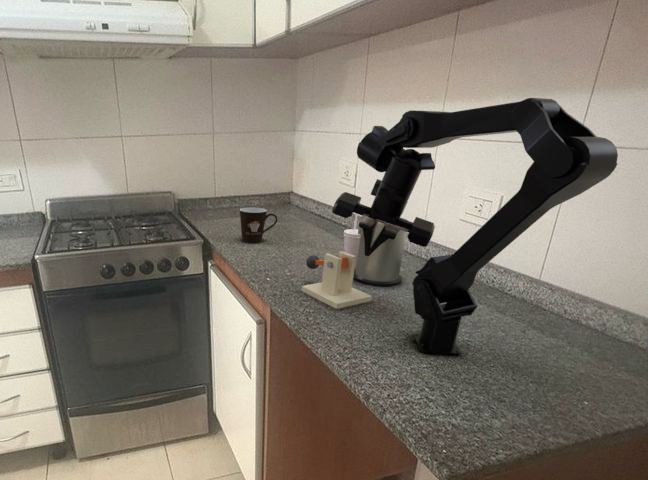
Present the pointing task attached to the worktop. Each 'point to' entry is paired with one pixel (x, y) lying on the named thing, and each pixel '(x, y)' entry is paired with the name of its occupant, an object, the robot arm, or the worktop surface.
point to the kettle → (380, 261)
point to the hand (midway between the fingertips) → (366, 255)
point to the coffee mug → (253, 224)
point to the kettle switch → (315, 262)
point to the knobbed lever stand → (337, 283)
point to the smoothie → (352, 240)
